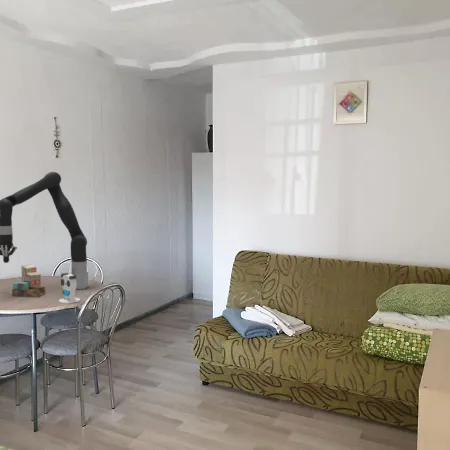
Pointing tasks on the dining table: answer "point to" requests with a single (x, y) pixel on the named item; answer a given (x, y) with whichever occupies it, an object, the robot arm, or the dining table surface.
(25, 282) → the block
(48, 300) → the dining table surface
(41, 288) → the wooden rail tray
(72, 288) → the panda figurine
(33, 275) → the stack of blocks
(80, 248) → the robot arm
